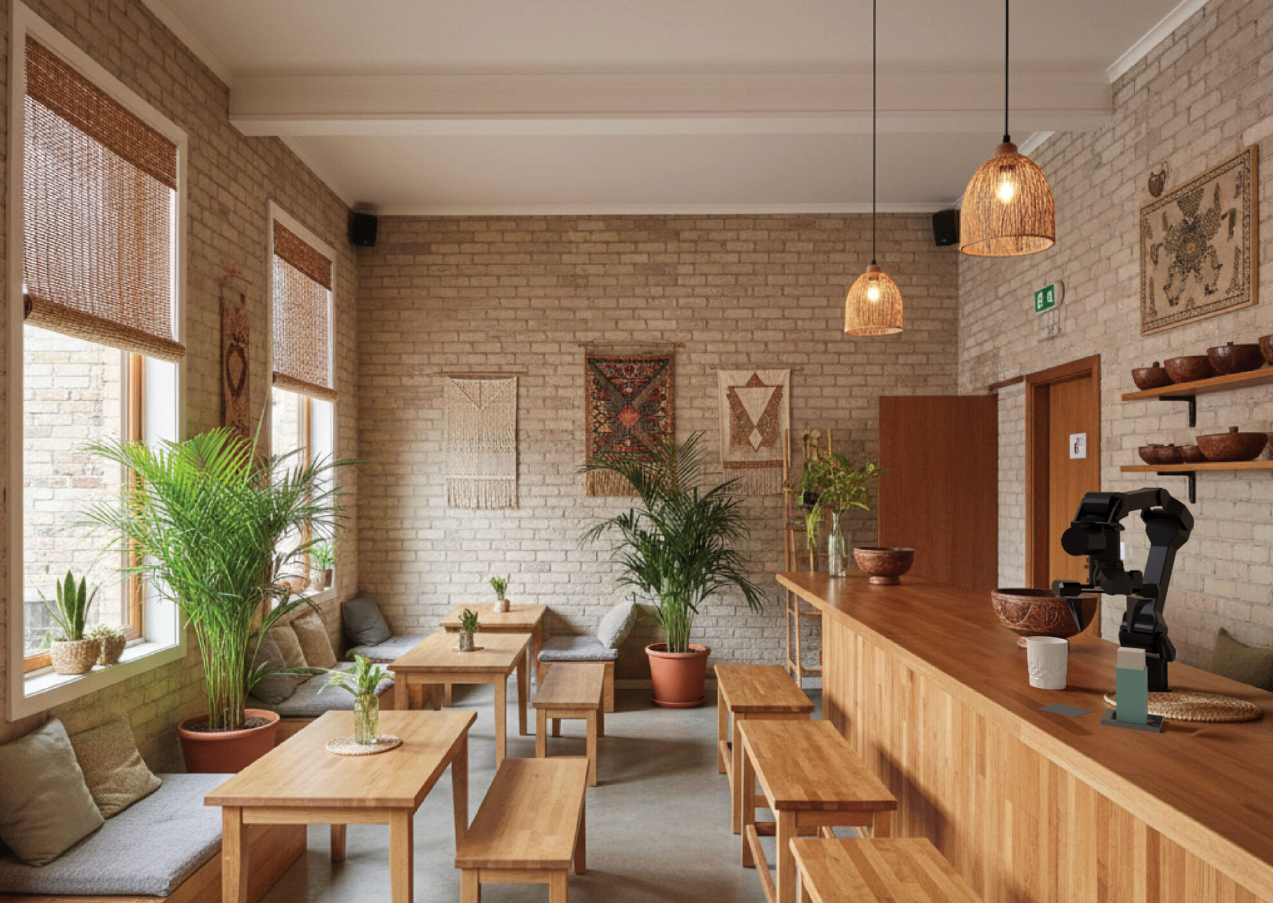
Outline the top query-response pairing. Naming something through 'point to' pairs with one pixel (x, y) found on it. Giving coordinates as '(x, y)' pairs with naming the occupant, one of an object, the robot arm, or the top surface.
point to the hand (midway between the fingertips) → (1105, 632)
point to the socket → (1131, 725)
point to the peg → (1131, 686)
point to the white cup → (1047, 662)
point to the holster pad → (1065, 710)
